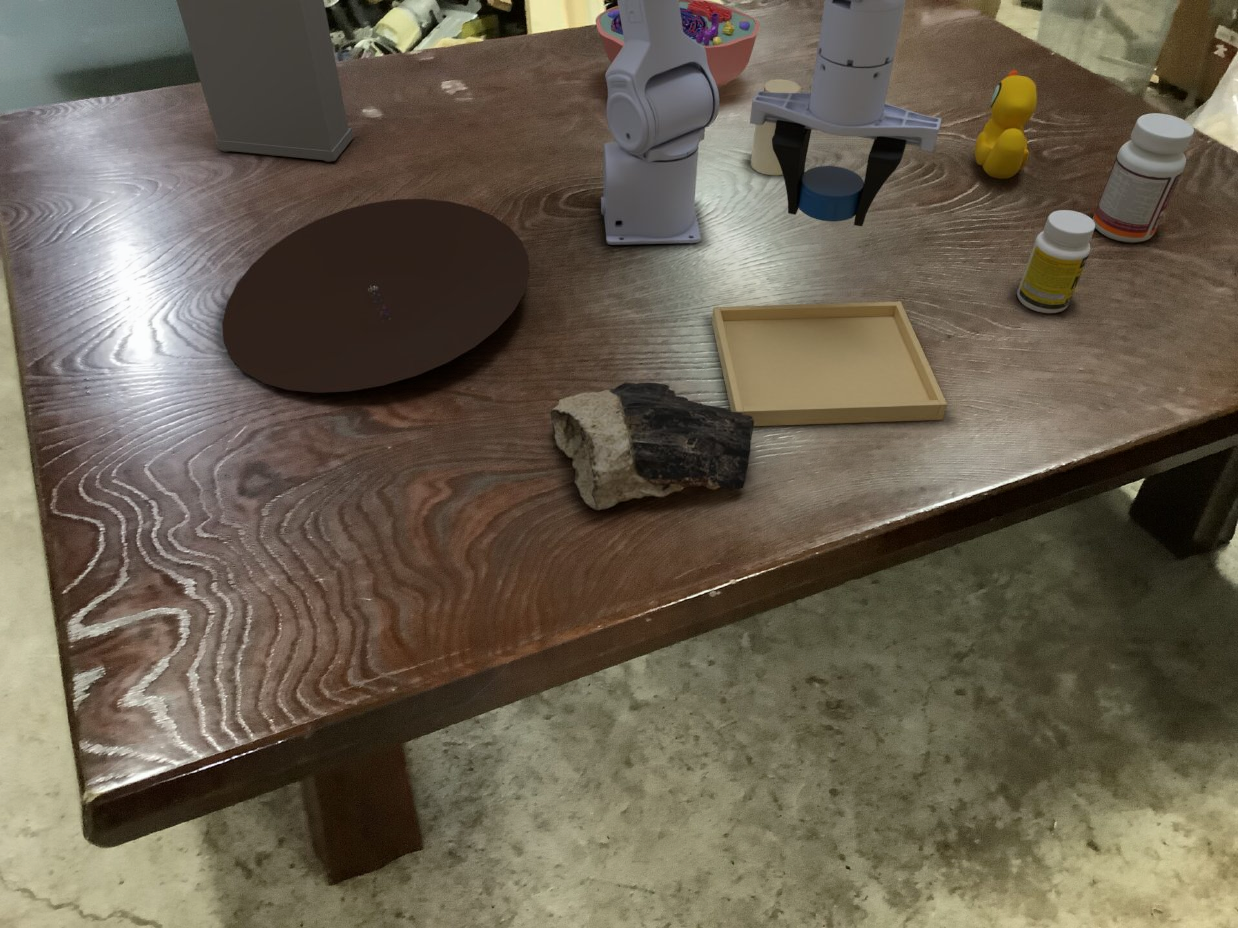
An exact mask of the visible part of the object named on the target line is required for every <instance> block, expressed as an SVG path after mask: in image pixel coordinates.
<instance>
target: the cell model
mask: <svg viewBox="0 0 1238 928" xmlns="http://www.w3.org/2000/svg"><path fill="white" fill-rule="evenodd" d="M679 7H680V13H681V20H682V27H683V32H684V33H685V34H686V35H687V36H689V37H690V38H691V39H693V40H694V41H696V42H697V43H699V44H700V45H701V46H703V47H704V48H705V50H706V56H707V63H708V66H709V69H710V72H711V74H712V76H713V78H714V80H715V82H716V85H717V88H718V89H720V88H721V87H723V86H725V85H727V84H728V83H730V82H732V81H733V80H735V79H736V78H737V77H739V76H740V75H741V74H742V73H743V72H744V71H745V70H746V68H747V67H748V65H749V63H750V60H751V57H752V53H753V50H754V47H755V43H756V39H757V36H758V33H759V30H760V27H761V24H760V21H759V20H758V19H756V18H754V17H753V16H750V15H749V14H747V13H743V12H741V11H739V10H736V9H735V8H733V7H729V6H728V5H726V4H722V3H720V2H715V1H710V0H679ZM595 25H596V29H597V31H598V35H599V38H600V42H601V44H602V47H603V49H604V52H605V54H606V57H607V59H608V61H609V62H610V65H611V64H612V62H613V61H614V59H615V58H616V56H617V55H618V53H619V52H620V50H621V49H622V47H623V45H624V43H625V41H624V35H623V30H622V24H621V19H620V13H619V7H618V5H616V6H613V7H611V8H608V9H606V10H604V11H602V12H601V13H599V14H598V15H597V16H596V18H595Z"/></svg>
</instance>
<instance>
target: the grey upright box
mask: <svg viewBox="0 0 1238 928" xmlns="http://www.w3.org/2000/svg"><path fill="white" fill-rule="evenodd" d="M175 1H176V3H177V7H178V11H179V14H180V17H181V20H182V21H181V22H182V24H183V27H184V31H185V33H186V34H185V35H186V37H187V41H188V44H189V48H190V51H191V55H192V58H193V61H194V64H195V68H196V71H197V74H198V79H199V80H200V81H199V82H200V85H201V89H202V92H203V95H204V99H205V103H206V105H207V109H208V112H209V115H210V119H211V122H212V123H211V124H212V125H213V129H214V133H215V137H216V140H215V142H216V146H217V149H218V151H222V152H225V153H227V152H237V153H238V152H239V153H246V154H247V153H248V154H256V155H257V154H258V155H267V156H268V155H269V156H278V157H287V158H299V159H309V160H318V161H319V160H320V161H324V162H327V163H330V162H336V160H337V159H338V158H339V157H340V155H341V154H342V153H343V151H344V150H345V149H346V148H347V146H348V145H349V144H350V143H351V141H353V139H354V138H355V136H354V131H353V127H349V125H348V124H349V123H348V118H347V113H346V108H345V104H344V98H343V93H342V88H341V83H340V78H339V72H338V67H337V62H336V57H335V52H334V47H333V42H332V37H331V32H330V26H329V21H328V16H327V15H328V14H327V10H326V5H325V1H324V0H175Z"/></svg>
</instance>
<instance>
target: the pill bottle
mask: <svg viewBox="0 0 1238 928" xmlns="http://www.w3.org/2000/svg"><path fill="white" fill-rule="evenodd" d="M1194 133H1195V128H1194V126H1192V124H1191V123H1189V122H1188V121H1187V120H1185V119H1183V118H1180V117H1178V116H1175V115H1171V114H1166V113H1155V112H1153V113H1146V114H1143V115H1140V116H1139V117H1138V118H1137V120H1136V121H1135V125H1134V127H1133V129H1132V131H1131V134H1130V139H1129V140H1128V141H1126V142H1125V143H1124V144H1122V146H1121V147H1120V148H1119V150H1118V152H1117V154H1116V156H1115V160H1114V162H1113V165H1112V167H1111V170H1110V173H1109V174H1108V177H1107V180H1106V183H1105V185H1104V188H1103V190H1102V193H1101V196H1100V197H1099V200H1098V203H1097V205H1096V208H1095V211H1094V213H1093V216H1092V220H1093V221H1094V223H1095V229H1096V230H1097V231H1098V232H1099V233H1100V234H1102V235H1103V236H1105V237H1107V238H1108V239H1111V240H1114V241H1118V242H1124V243H1141V242H1146V241H1147V240H1149V239H1151V238H1152V237H1154V235H1155V233H1156V231H1157V229H1158V227H1159V226H1160V222H1161V220H1162V218H1163V216H1164V214H1165V212H1166V210H1167V207H1168V205H1169V203H1170V201H1171V198H1172V196H1173V194H1174V192H1175V190H1176V187H1177V185H1178V184H1179V181H1180V179H1181V177H1182V174H1183V172H1184V169H1185V167H1186V164H1187V158H1186V155H1185V153H1184V152H1186V151H1187V150H1188V148H1189V145H1190V142H1191V140H1192V138H1193V136H1194Z"/></svg>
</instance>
